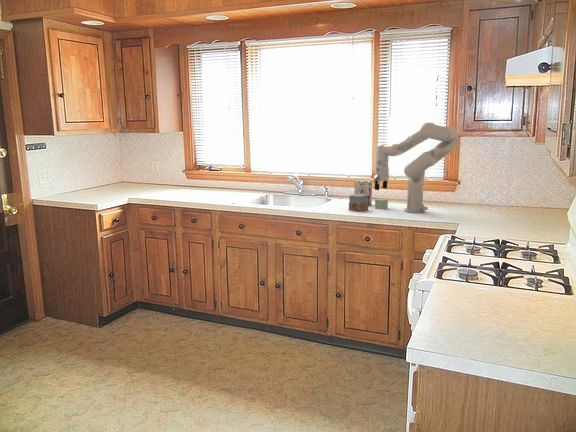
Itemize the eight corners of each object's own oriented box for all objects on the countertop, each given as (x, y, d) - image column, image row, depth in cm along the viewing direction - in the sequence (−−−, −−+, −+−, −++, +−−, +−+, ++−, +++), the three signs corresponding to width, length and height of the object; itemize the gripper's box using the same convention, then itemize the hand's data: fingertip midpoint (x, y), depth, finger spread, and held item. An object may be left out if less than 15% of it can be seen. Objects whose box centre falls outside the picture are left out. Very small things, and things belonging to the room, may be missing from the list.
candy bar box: (371, 204, 348) (372, 181, 345) (369, 205, 344) (370, 181, 341) (356, 203, 354) (356, 180, 350) (353, 204, 349) (354, 180, 346)
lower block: (368, 210, 329) (368, 202, 328) (360, 212, 323) (360, 204, 322) (356, 208, 335) (356, 201, 334) (348, 210, 329) (348, 203, 328)
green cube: (387, 208, 335) (387, 199, 334) (382, 209, 331) (383, 200, 330) (379, 207, 339) (380, 198, 338) (374, 208, 335) (375, 199, 333)
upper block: (366, 202, 328) (366, 195, 327) (359, 204, 322) (359, 196, 322) (356, 201, 334) (356, 193, 333) (349, 203, 328) (349, 195, 327)
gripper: (380, 164, 320) (378, 191, 324) (394, 162, 333) (392, 188, 337) (370, 163, 325) (368, 189, 329) (384, 161, 338) (382, 187, 342)
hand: (380, 189), depth 333 cm, fingers open, 9 cm apart
